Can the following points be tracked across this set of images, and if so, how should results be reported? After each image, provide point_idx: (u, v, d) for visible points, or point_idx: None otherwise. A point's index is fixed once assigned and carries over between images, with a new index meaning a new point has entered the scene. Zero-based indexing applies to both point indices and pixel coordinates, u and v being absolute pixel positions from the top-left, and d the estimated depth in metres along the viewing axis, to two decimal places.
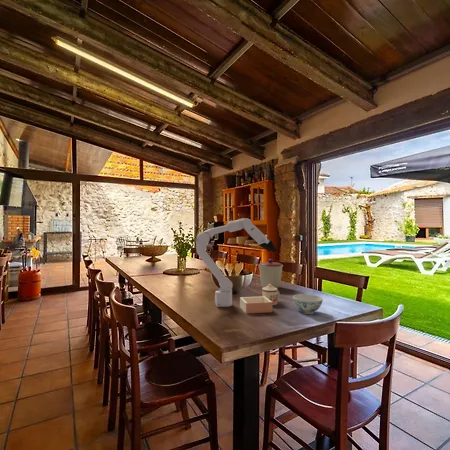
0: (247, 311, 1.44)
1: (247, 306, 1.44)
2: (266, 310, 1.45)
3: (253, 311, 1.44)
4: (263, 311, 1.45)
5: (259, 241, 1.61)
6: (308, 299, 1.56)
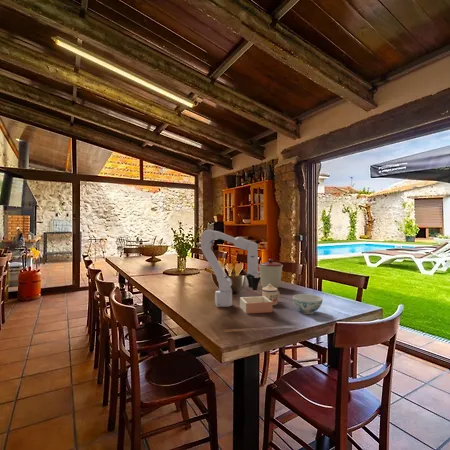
0: (247, 311, 1.44)
1: (247, 306, 1.44)
2: (266, 310, 1.45)
3: (253, 311, 1.44)
4: (263, 311, 1.45)
5: (250, 271, 1.55)
6: (308, 299, 1.56)
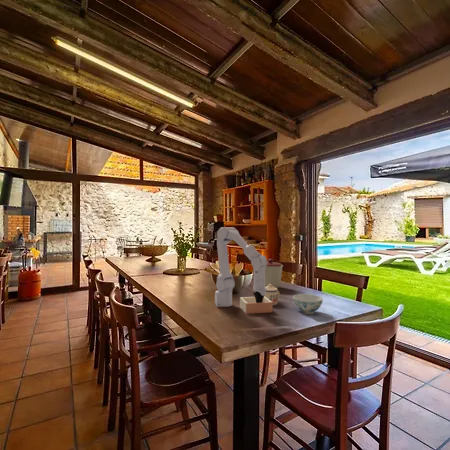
0: (247, 311, 1.44)
1: (247, 306, 1.43)
2: (266, 310, 1.45)
3: (253, 311, 1.44)
4: (263, 312, 1.45)
5: (256, 287, 1.43)
6: (308, 299, 1.56)
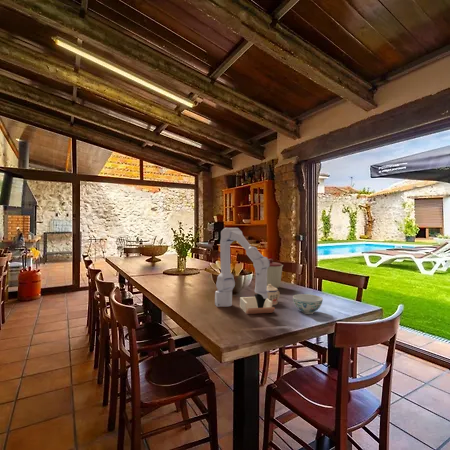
0: (247, 313, 1.43)
1: (248, 311, 1.41)
2: (266, 312, 1.45)
3: (253, 313, 1.44)
4: None
5: (258, 290, 1.40)
6: (308, 299, 1.56)
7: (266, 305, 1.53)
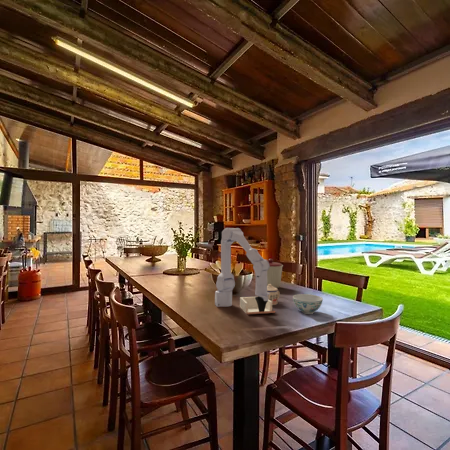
0: (247, 314, 1.43)
1: (248, 314, 1.41)
2: (266, 313, 1.45)
3: None
4: None
5: (258, 292, 1.40)
6: (308, 299, 1.56)
7: (266, 305, 1.53)
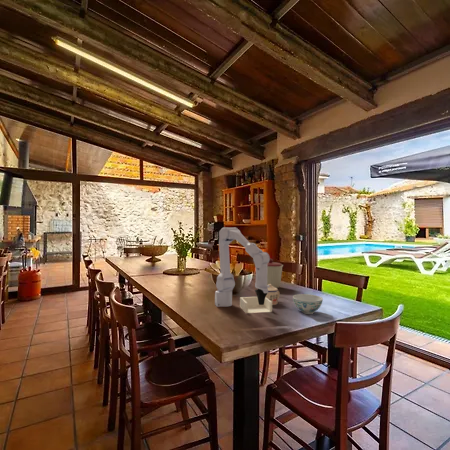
0: None
1: None
2: None
3: None
4: None
5: (258, 285, 1.40)
6: (308, 299, 1.56)
7: (266, 305, 1.53)
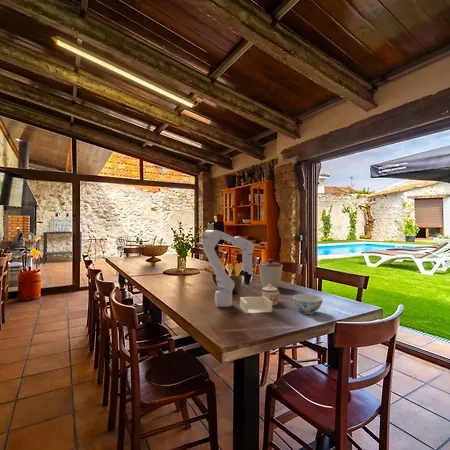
0: None
1: None
2: None
3: None
4: None
5: (244, 268, 1.66)
6: (308, 299, 1.56)
7: (266, 305, 1.53)
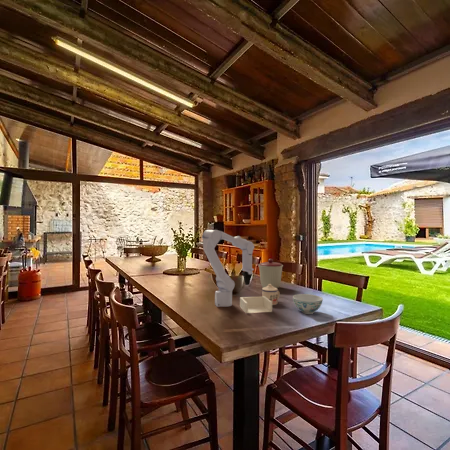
0: None
1: None
2: None
3: None
4: None
5: (244, 268, 1.66)
6: (308, 299, 1.56)
7: (266, 305, 1.53)
